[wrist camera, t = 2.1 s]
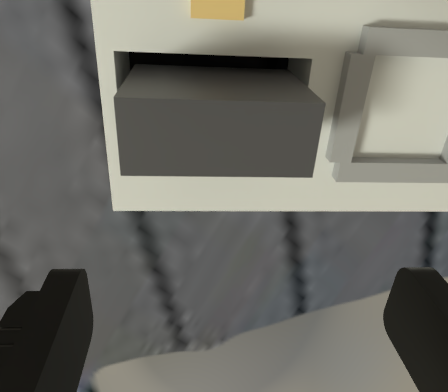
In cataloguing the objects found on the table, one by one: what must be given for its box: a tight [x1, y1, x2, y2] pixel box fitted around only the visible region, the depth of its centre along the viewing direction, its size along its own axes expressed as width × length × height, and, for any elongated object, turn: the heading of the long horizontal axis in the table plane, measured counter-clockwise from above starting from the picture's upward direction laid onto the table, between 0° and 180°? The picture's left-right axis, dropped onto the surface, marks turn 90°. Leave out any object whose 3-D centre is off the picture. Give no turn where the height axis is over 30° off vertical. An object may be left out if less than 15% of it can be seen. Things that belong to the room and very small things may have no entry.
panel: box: [91, 0, 448, 211], centre depth 27 cm, size 16×32×8 cm, turn 87°
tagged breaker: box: [113, 64, 326, 178], centre depth 22 cm, size 4×10×8 cm, turn 87°
